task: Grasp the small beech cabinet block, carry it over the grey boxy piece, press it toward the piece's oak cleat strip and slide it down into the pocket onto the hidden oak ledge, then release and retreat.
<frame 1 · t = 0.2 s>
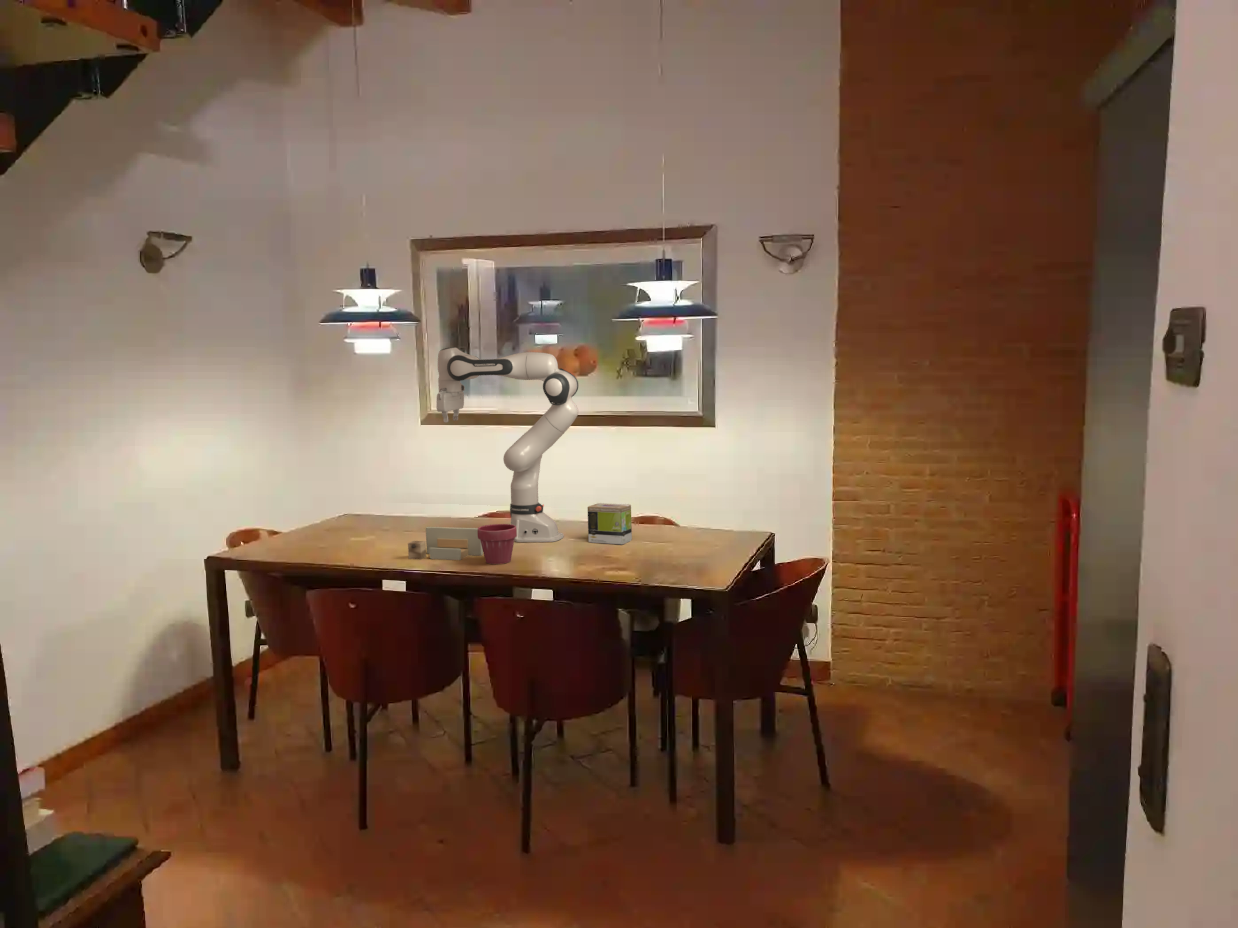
hand: (450, 421, 381), 48 cm above the table, fingers open, 8 cm apart
grey boxy piece: (454, 553, 353), on the table
cabinet block: (417, 557, 347), on the table
tea box: (610, 542, 370), on the table
plant pot: (498, 562, 339), on the table
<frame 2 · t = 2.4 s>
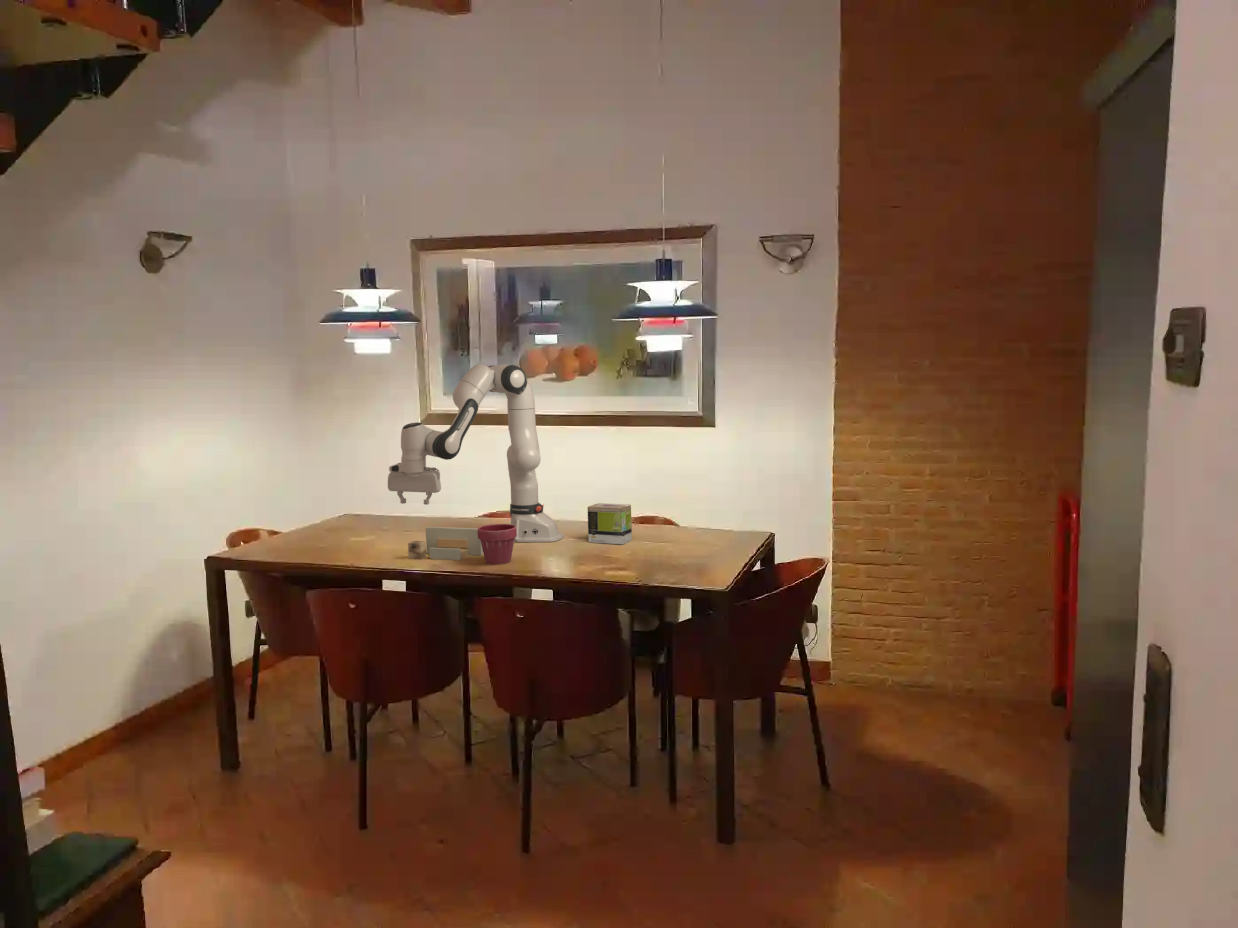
hand: (414, 503, 346), 20 cm above the table, fingers open, 8 cm apart
nothing on the table moved.
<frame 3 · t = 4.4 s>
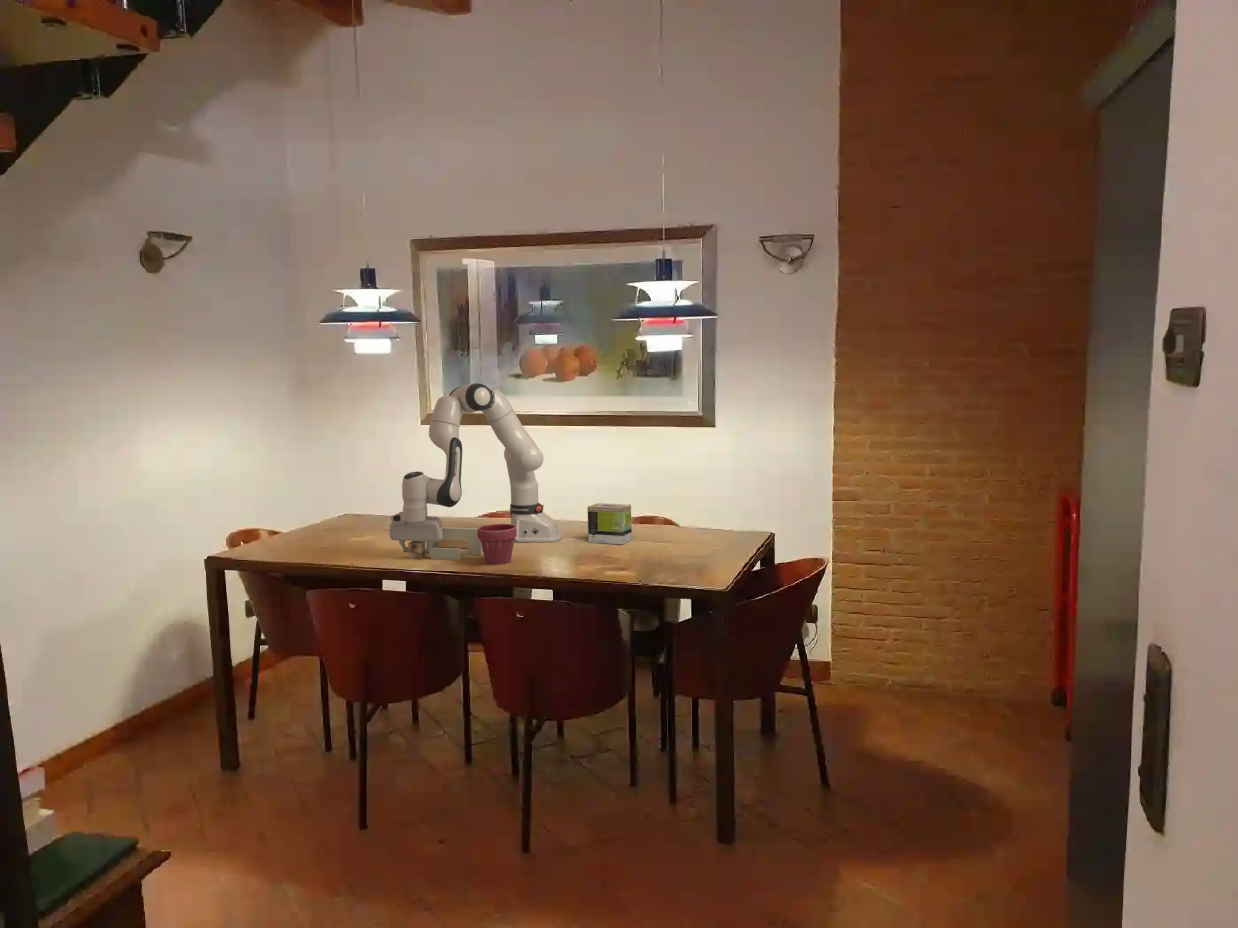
hand: (417, 552, 347), 2 cm above the table, fingers open, 8 cm apart
nothing on the table moved.
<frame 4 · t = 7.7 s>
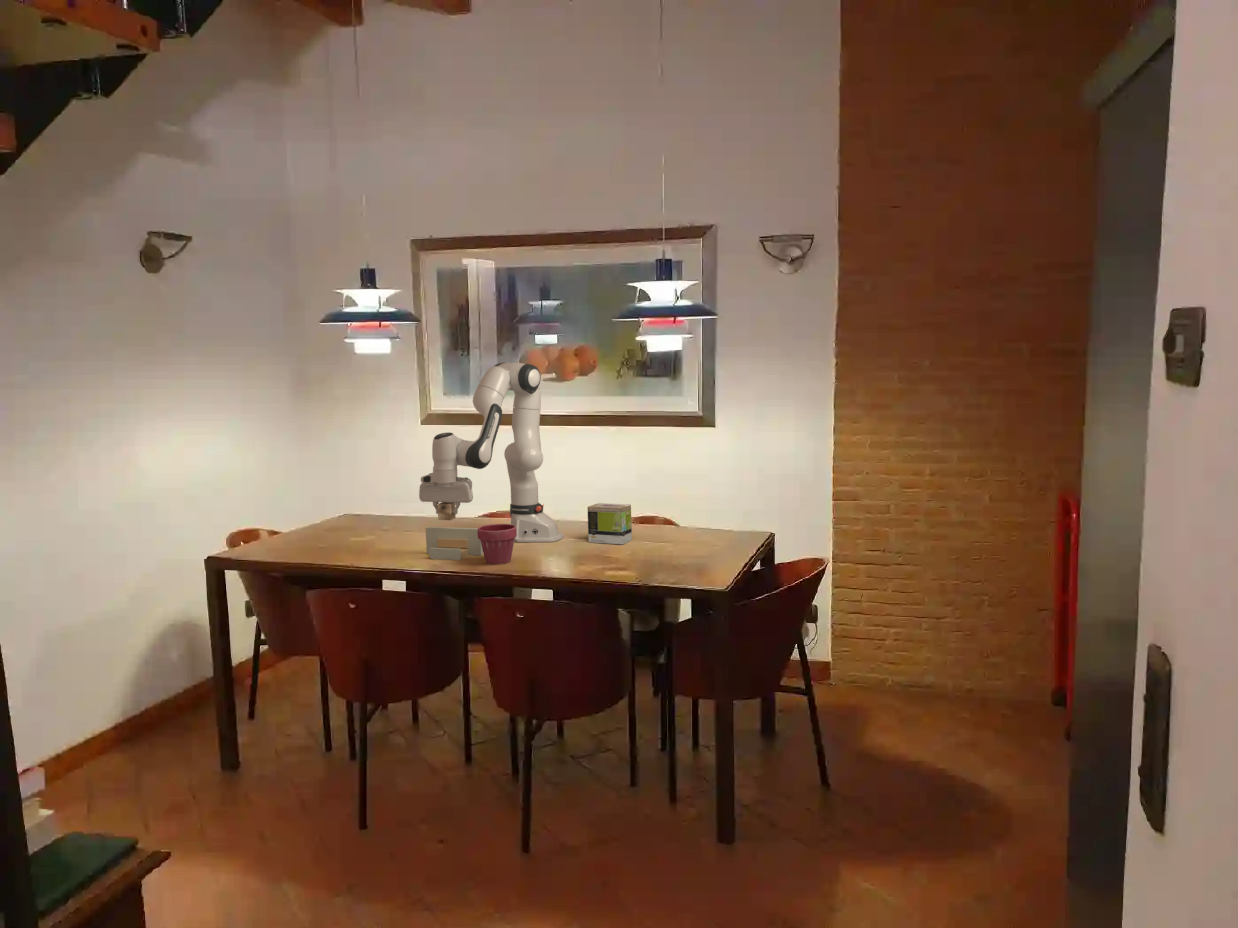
hand: (446, 513, 345), 16 cm above the table, fingers closed on cabinet block, 5 cm apart
cabinet block: (447, 519, 345), point 15 cm above the table, touching gripper
everything else where it was.
when the fingers open (5 cm above the table, at t = 10.5 s): cabinet block stays where it is, resting on grey boxy piece.
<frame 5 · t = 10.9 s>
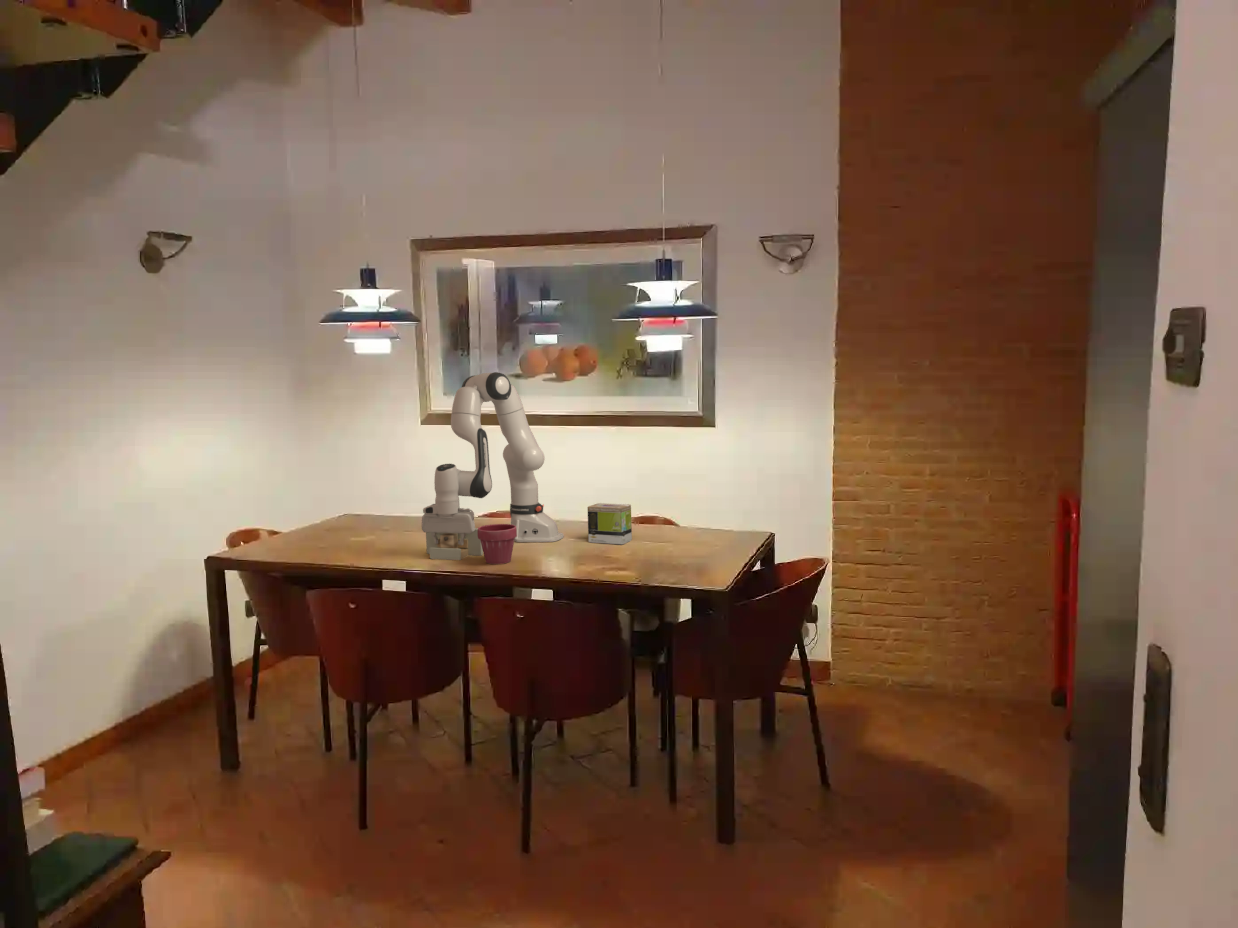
hand: (449, 544, 347), 5 cm above the table, fingers open, 8 cm apart
cabinet block: (449, 550, 348), point 2 cm above the table, touching grey boxy piece
everything else where it was.
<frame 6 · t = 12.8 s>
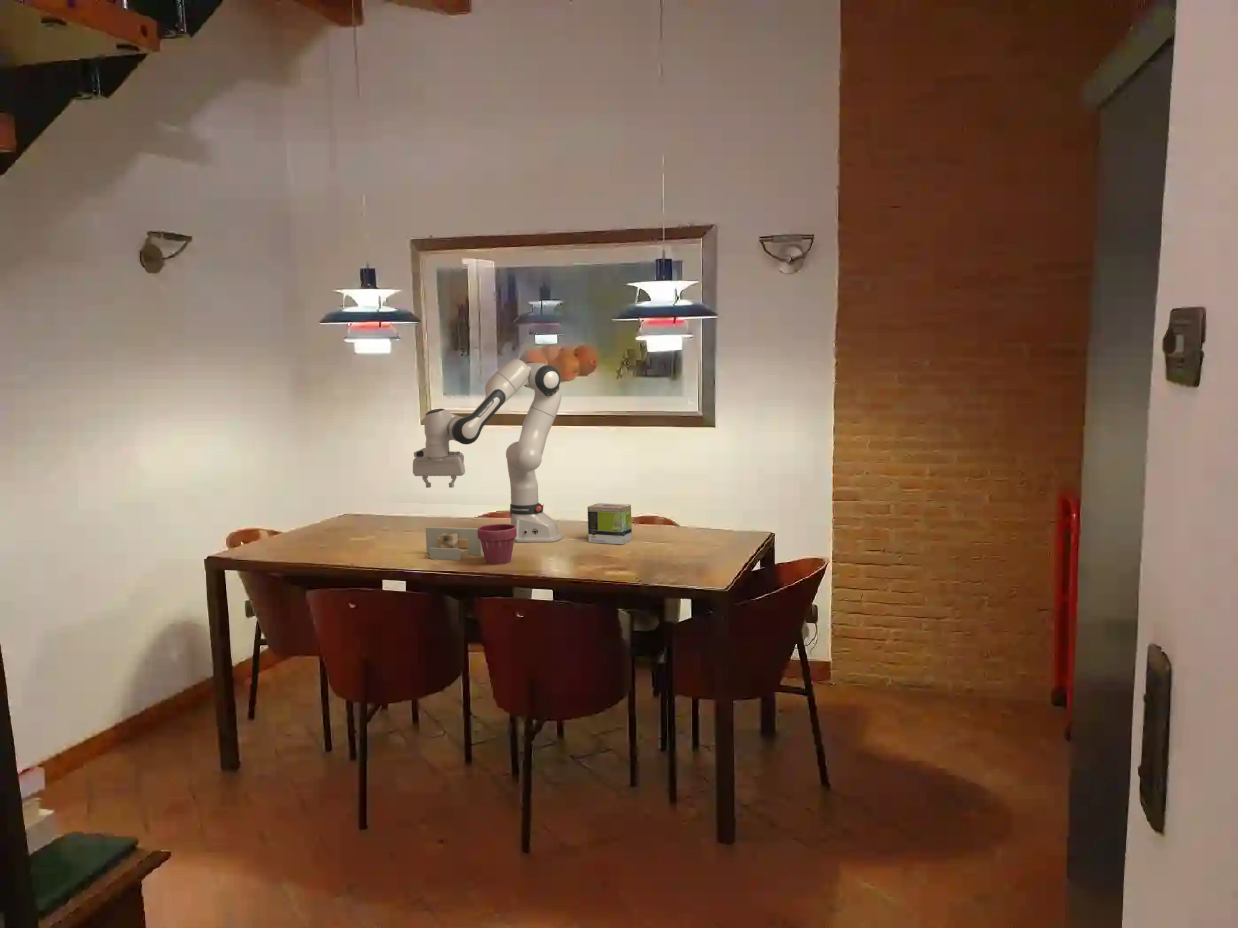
hand: (440, 487, 357), 25 cm above the table, fingers open, 8 cm apart
nothing on the table moved.
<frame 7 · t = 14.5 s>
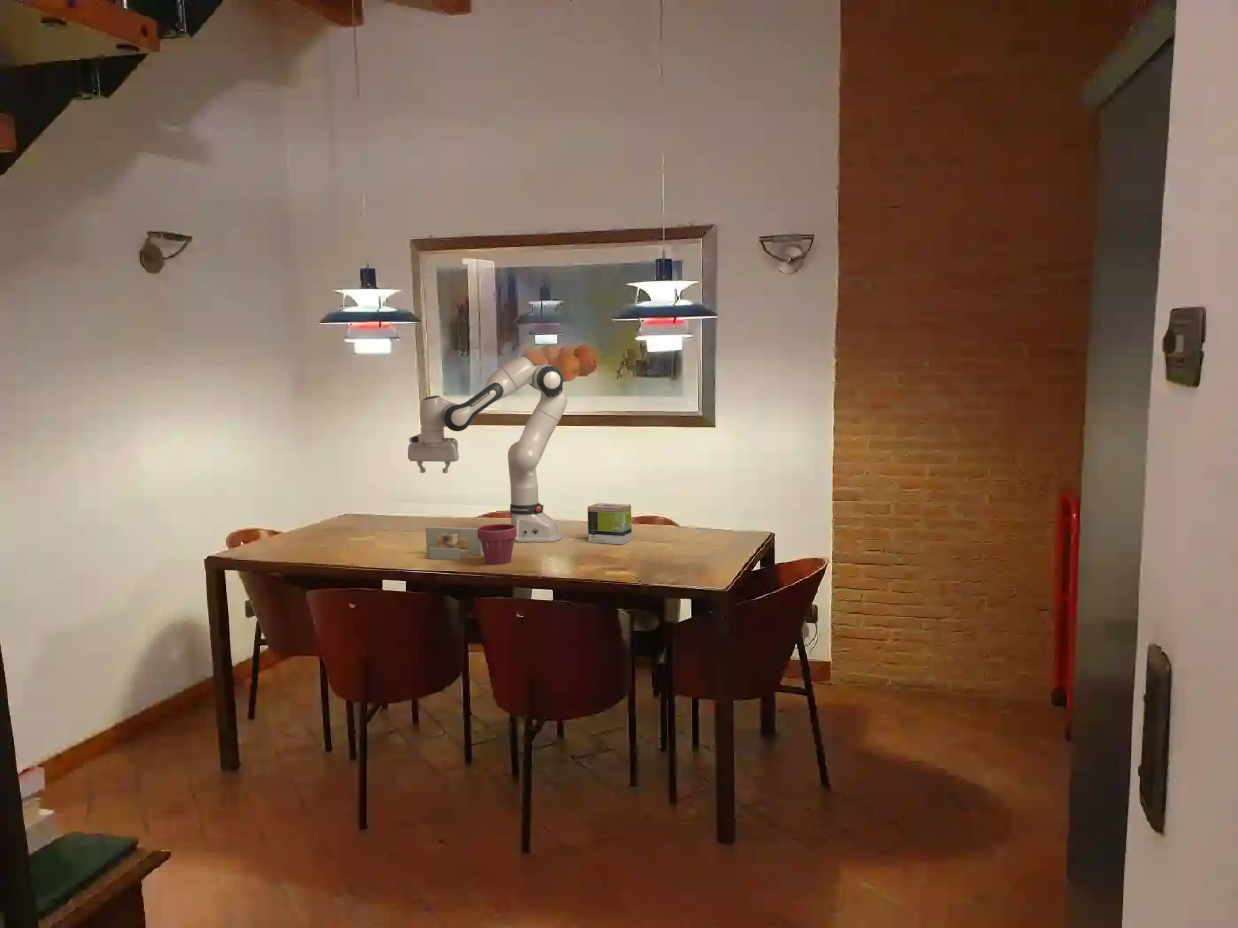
hand: (434, 472, 364), 29 cm above the table, fingers open, 8 cm apart
nothing on the table moved.
at the end: cabinet block inside the target area on the grey boxy piece (0.5 cm from its centre), point 2.5 cm above the grey boxy piece's base; cabinet block tilted 0°; the gripper is holding nothing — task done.
